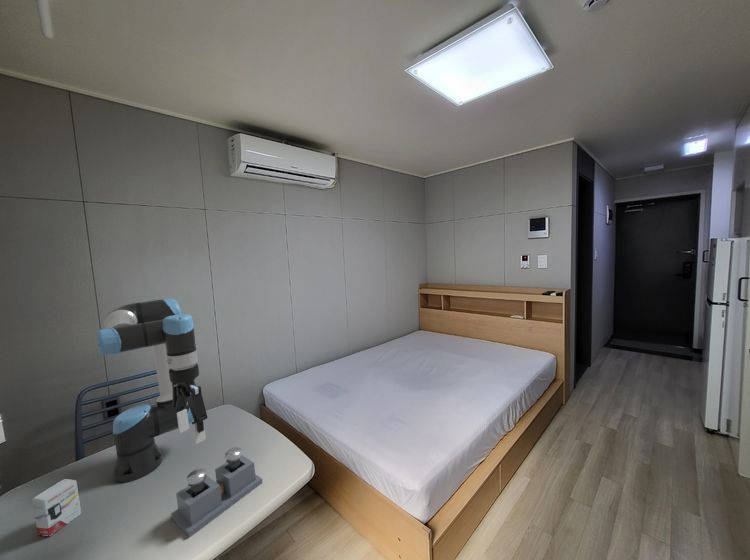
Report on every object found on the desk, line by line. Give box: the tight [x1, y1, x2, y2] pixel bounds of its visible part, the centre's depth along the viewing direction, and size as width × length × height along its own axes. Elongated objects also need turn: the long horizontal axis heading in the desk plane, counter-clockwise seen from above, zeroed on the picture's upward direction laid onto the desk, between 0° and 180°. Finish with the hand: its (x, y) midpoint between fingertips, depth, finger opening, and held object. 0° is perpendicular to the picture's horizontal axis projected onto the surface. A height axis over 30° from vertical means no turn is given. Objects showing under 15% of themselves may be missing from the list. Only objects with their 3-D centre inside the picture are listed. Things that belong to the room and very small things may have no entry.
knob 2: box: [224, 447, 243, 473], centre depth 103 cm, size 5×5×8 cm
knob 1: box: [186, 468, 207, 498], centre depth 94 cm, size 5×5×8 cm
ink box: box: [31, 478, 82, 536], centre depth 93 cm, size 9×5×12 cm, turn 168°
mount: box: [170, 455, 263, 538], centre depth 99 cm, size 12×24×8 cm, turn 145°
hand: (192, 435), depth 92 cm, fingers open, 10 cm apart
